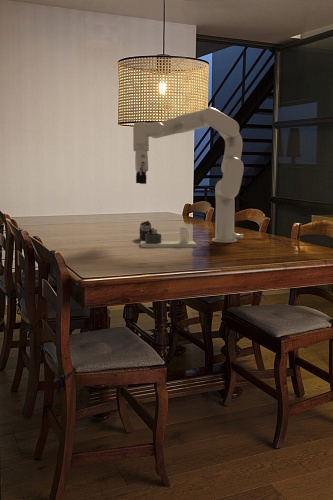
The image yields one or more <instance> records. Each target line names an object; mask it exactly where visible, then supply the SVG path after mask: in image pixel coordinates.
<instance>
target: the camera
mask: <svg viewBox="0 0 333 500" xmlns="http://www.w3.org/2000/svg"><path fill="white" fill-rule="evenodd" d="M139 224H140V226H139V239H140V240H141V241H145V234H150V233H157V234H158V230H157V228H156V229H155V228H154V227H152V223H151V222H150V221H149V220H146V221H143V222H141V223H139Z"/></svg>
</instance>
